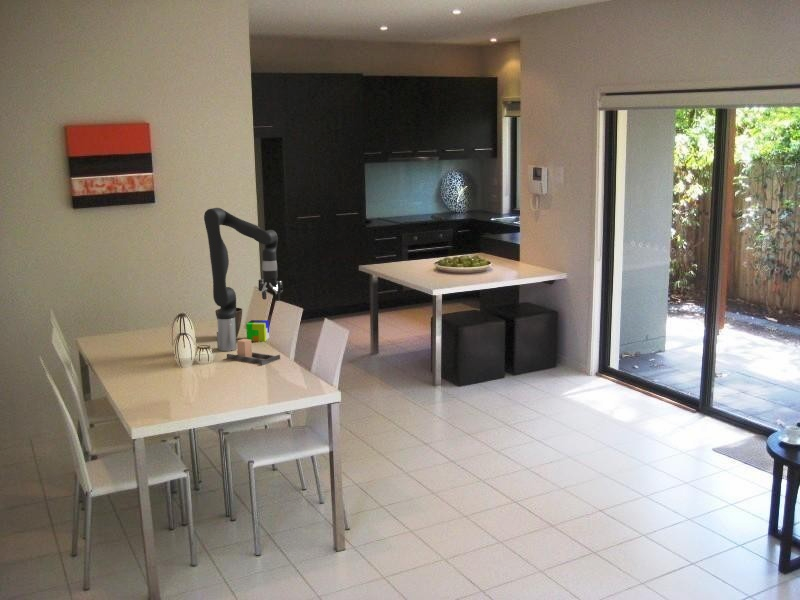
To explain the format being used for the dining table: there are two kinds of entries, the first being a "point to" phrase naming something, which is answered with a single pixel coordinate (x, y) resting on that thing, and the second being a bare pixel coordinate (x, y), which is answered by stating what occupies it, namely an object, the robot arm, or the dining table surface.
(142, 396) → the dining table surface
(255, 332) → the puzzle toy
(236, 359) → the dark grey flat frame
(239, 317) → the plant pot
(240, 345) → the terracotta block
